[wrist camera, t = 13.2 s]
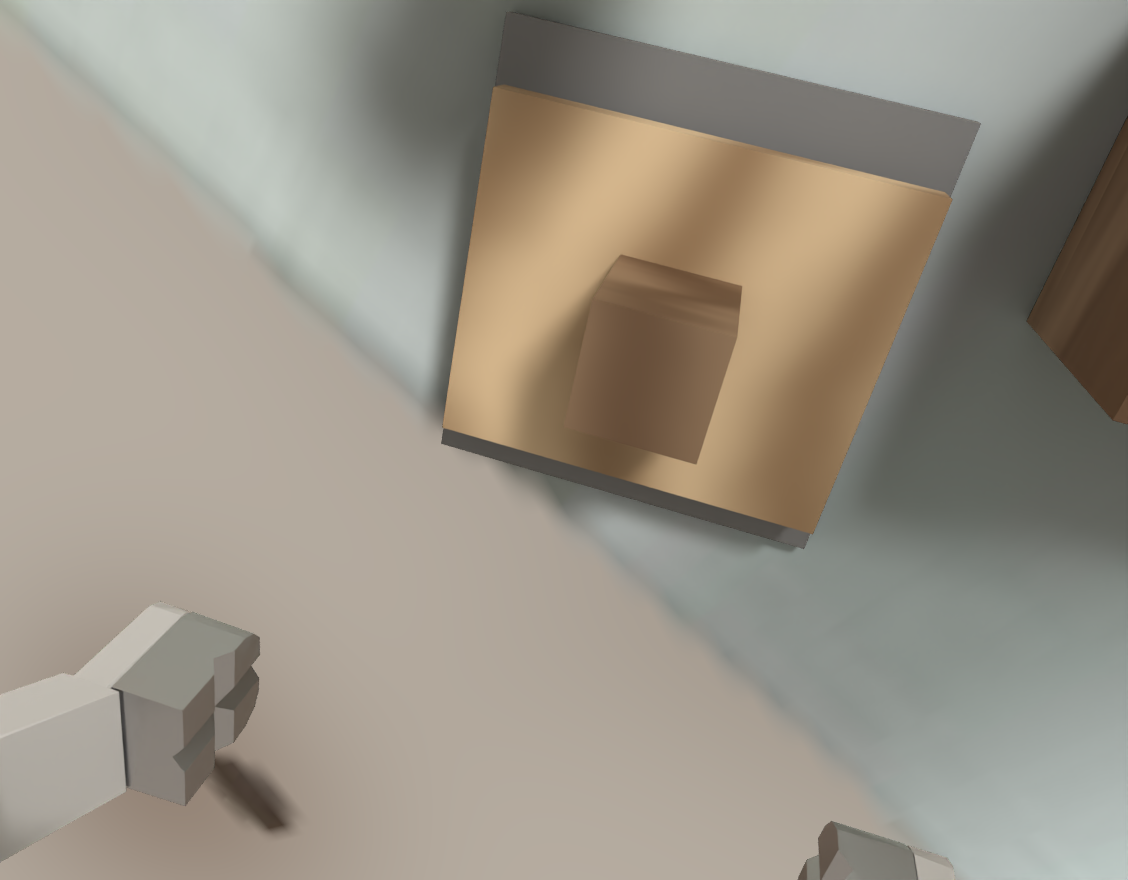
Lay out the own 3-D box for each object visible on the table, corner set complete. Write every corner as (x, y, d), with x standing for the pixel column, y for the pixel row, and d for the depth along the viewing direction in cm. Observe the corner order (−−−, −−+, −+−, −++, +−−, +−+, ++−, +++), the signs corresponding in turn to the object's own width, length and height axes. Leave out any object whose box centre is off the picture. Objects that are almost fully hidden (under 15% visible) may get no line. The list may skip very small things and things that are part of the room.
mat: (976, 121, 26) (980, 123, 25) (803, 540, 33) (804, 548, 33) (511, 12, 27) (506, 11, 27) (446, 437, 35) (441, 443, 34)
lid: (938, 186, 26) (993, 237, 20) (810, 503, 32) (820, 621, 26) (512, 82, 28) (436, 99, 21) (461, 404, 33) (389, 492, 27)
